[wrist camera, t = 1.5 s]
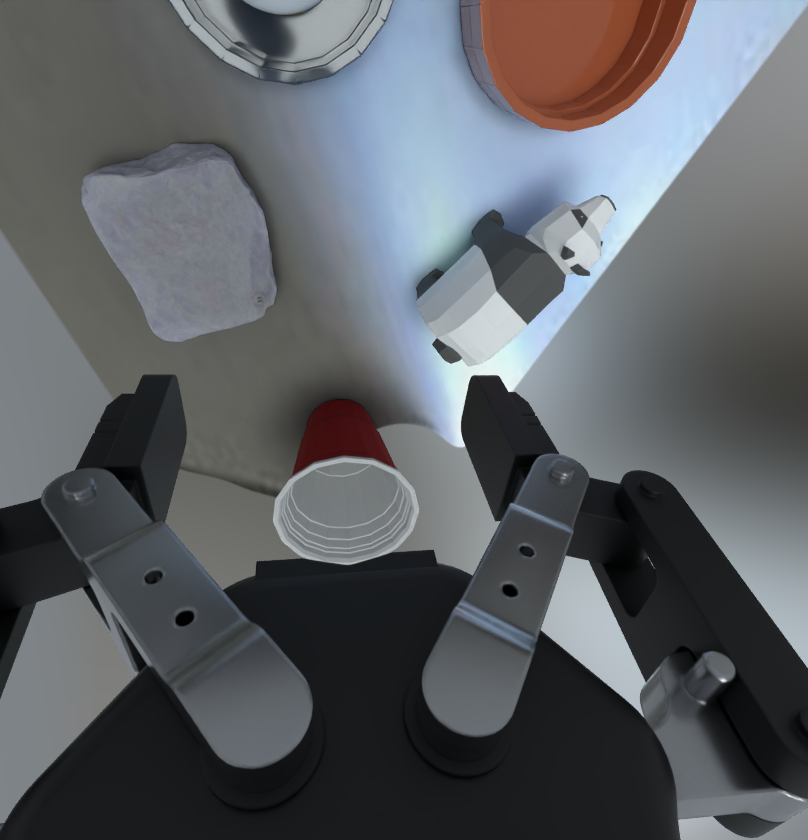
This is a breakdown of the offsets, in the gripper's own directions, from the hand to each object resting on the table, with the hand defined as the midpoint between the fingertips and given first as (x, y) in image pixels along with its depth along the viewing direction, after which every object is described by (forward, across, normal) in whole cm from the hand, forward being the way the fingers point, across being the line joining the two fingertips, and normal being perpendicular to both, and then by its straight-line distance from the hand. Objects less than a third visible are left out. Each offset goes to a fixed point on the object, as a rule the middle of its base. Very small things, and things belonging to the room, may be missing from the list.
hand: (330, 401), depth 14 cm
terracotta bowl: (+26, -15, -11) cm, 32 cm away
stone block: (+26, +8, +4) cm, 28 cm away
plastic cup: (+26, -2, +21) cm, 33 cm away
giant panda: (+26, -13, +5) cm, 30 cm away
